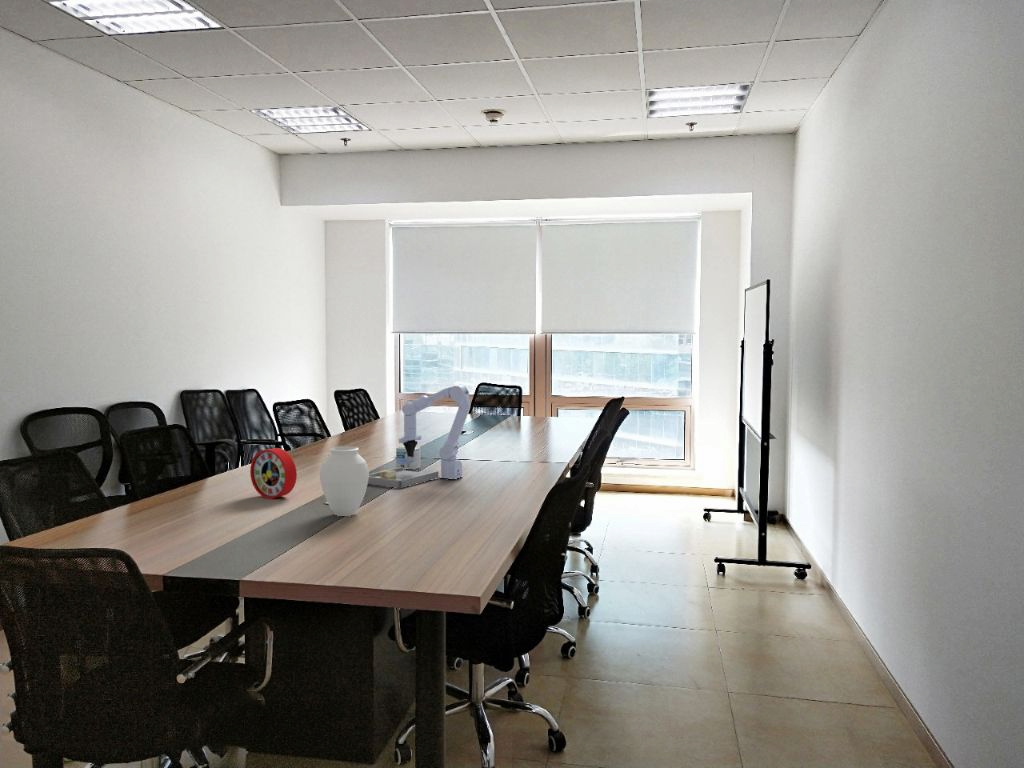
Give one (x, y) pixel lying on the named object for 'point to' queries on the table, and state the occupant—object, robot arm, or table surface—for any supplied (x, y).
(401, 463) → the light bulb box
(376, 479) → the grey tray
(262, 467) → the toy clock
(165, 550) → the table surface
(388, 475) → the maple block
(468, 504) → the table surface
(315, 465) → the table surface
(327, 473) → the vase
